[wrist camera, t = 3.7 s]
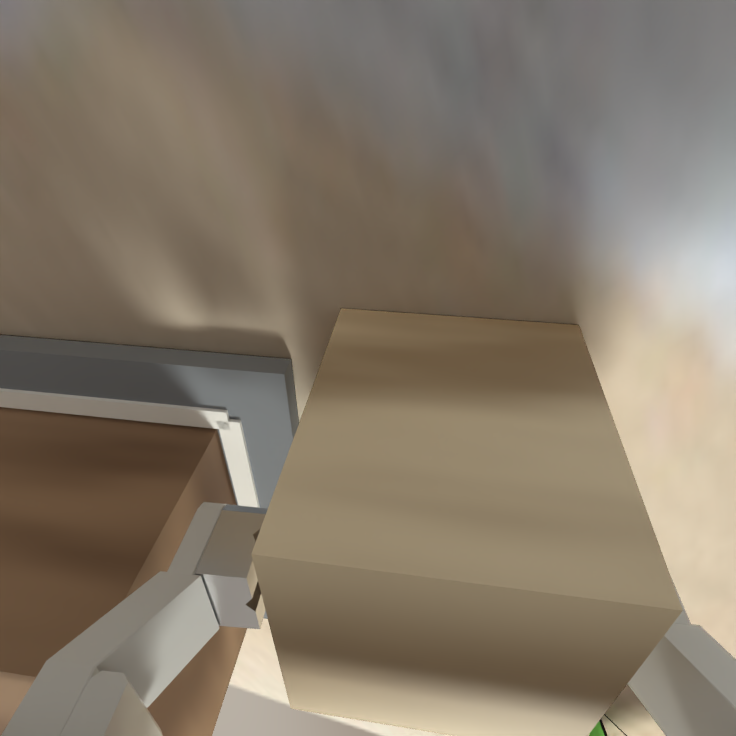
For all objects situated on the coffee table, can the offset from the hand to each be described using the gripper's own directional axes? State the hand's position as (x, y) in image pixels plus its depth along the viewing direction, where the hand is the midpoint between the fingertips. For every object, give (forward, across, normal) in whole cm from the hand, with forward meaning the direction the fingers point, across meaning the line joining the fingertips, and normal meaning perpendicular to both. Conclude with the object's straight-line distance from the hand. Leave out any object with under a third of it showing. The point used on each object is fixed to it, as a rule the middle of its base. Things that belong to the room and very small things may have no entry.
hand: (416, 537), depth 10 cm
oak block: (+3, -1, -1) cm, 3 cm away
